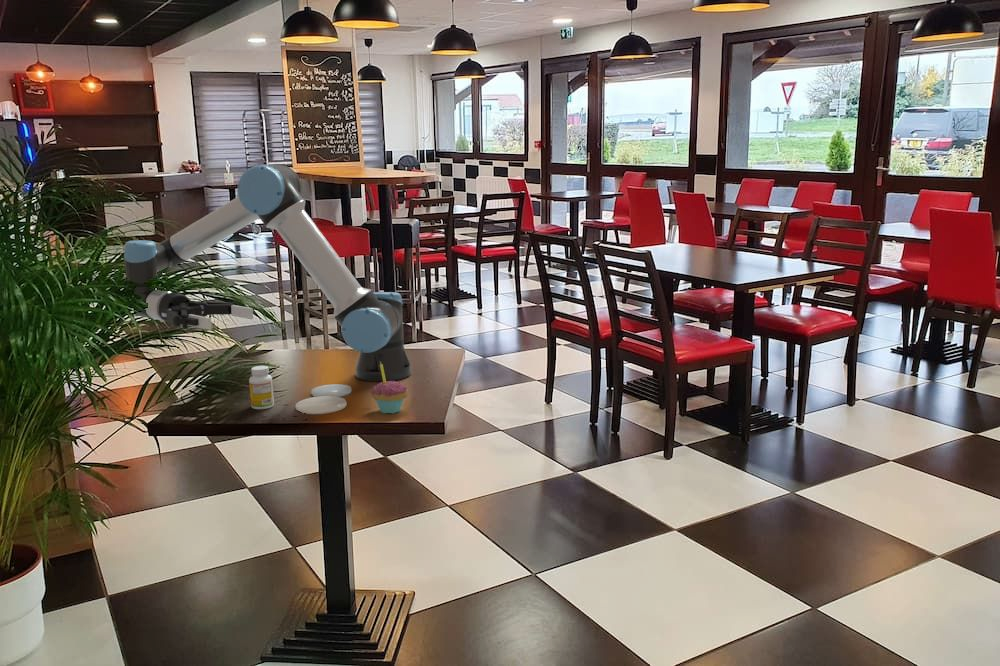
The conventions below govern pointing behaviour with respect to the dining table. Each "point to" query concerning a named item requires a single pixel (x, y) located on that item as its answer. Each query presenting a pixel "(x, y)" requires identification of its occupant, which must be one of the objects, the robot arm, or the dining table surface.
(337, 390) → the grey coaster
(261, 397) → the supplement bottle
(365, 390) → the dining table surface
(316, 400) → the cream coaster
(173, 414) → the dining table surface
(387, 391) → the cupcake
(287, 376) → the dining table surface
